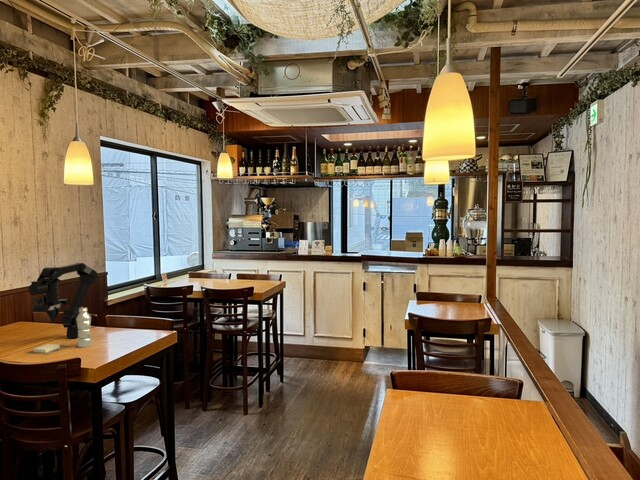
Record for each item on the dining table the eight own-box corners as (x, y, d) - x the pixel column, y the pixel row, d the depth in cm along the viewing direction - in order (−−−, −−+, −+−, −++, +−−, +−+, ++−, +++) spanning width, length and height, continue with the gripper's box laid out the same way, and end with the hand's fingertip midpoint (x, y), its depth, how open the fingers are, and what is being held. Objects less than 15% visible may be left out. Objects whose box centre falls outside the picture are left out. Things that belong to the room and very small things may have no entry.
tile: (48, 344, 214) (33, 348, 206) (59, 344, 212) (45, 349, 205) (48, 347, 214) (33, 352, 206) (59, 348, 212) (45, 353, 205)
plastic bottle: (81, 345, 217) (78, 306, 216) (94, 345, 218) (92, 306, 217) (74, 349, 211) (72, 309, 210) (89, 349, 212) (87, 308, 211)
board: (49, 345, 219) (49, 344, 219) (71, 347, 215) (71, 346, 215) (24, 354, 205) (24, 353, 205) (47, 356, 202) (47, 354, 202)
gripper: (52, 288, 229) (54, 317, 230) (22, 295, 211) (24, 326, 211) (70, 288, 227) (72, 317, 228) (41, 295, 209) (43, 326, 209)
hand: (53, 322), depth 219 cm, fingers closed
